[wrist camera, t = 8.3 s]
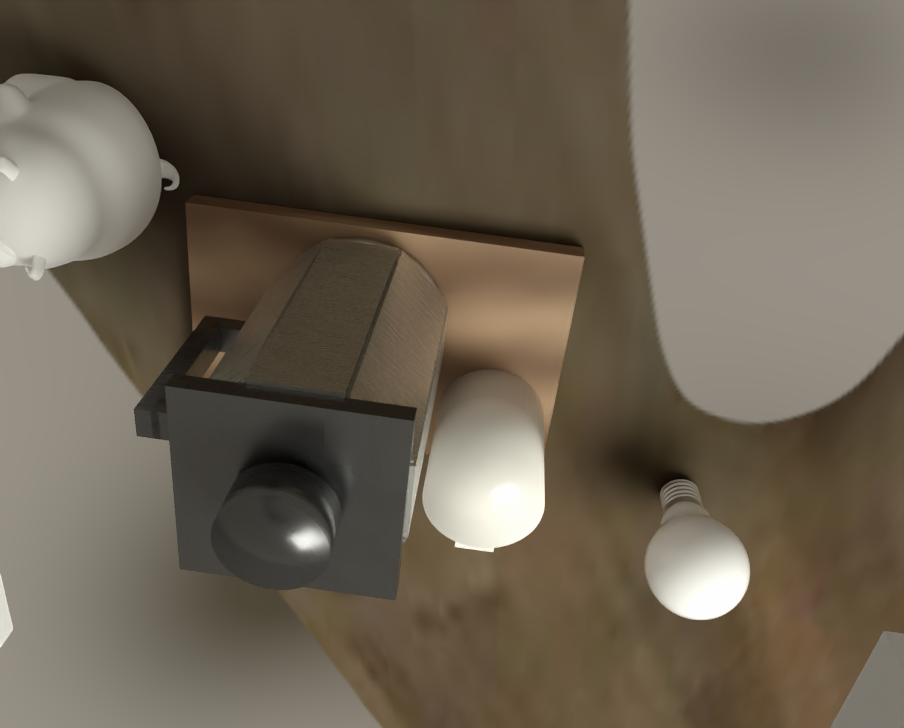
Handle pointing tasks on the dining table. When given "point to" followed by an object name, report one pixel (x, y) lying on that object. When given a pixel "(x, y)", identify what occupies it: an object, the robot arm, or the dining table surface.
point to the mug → (486, 461)
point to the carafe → (311, 403)
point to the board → (438, 249)
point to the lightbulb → (694, 557)
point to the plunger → (277, 526)
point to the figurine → (73, 172)
